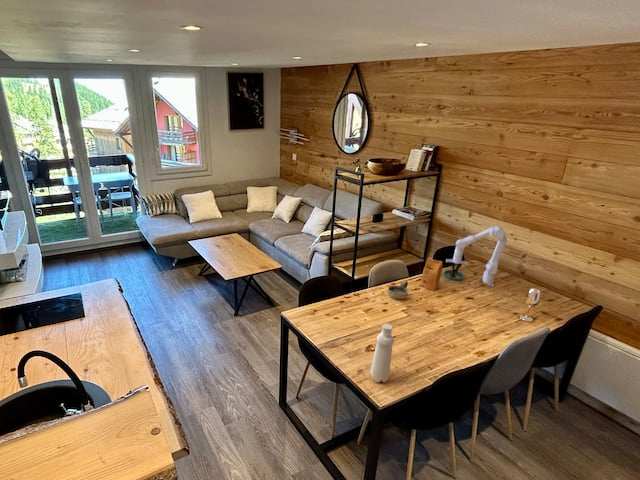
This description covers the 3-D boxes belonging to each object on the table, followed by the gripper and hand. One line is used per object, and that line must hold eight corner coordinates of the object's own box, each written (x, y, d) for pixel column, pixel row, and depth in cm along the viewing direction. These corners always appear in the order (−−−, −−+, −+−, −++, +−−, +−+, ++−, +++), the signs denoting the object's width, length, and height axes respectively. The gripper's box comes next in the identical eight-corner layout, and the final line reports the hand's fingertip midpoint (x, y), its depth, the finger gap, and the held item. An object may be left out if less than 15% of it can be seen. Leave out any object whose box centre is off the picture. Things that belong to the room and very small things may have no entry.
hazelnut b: (447, 275, 300) (446, 273, 300) (450, 275, 299) (449, 272, 299) (447, 276, 298) (446, 274, 298) (450, 275, 298) (449, 273, 298)
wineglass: (532, 317, 248) (541, 289, 240) (533, 323, 242) (543, 294, 234) (518, 314, 251) (526, 286, 243) (519, 319, 244) (528, 291, 237)
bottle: (385, 371, 196) (394, 321, 184) (390, 384, 188) (400, 332, 176) (367, 371, 196) (375, 321, 184) (372, 384, 187) (380, 332, 175)
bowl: (382, 296, 268) (384, 283, 264) (396, 288, 278) (398, 276, 275) (400, 304, 258) (402, 291, 254) (414, 296, 269) (416, 283, 265)
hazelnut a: (456, 279, 293) (456, 277, 294) (457, 279, 294) (457, 277, 295) (458, 279, 292) (458, 277, 292) (459, 279, 293) (459, 277, 293)
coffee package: (425, 281, 290) (430, 254, 282) (440, 287, 282) (446, 260, 273) (417, 285, 285) (422, 257, 276) (432, 291, 276) (438, 263, 267)
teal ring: (442, 273, 304) (443, 268, 303) (461, 276, 301) (462, 271, 299) (443, 281, 292) (444, 276, 290) (464, 284, 288) (465, 279, 286)
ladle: (451, 274, 300) (453, 266, 296) (456, 276, 297) (458, 268, 294) (448, 276, 297) (450, 269, 293) (454, 279, 295) (456, 271, 291)
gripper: (448, 256, 287) (444, 272, 292) (469, 258, 283) (465, 275, 288) (447, 252, 293) (443, 268, 298) (468, 255, 289) (464, 271, 295)
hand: (454, 272), depth 294 cm, fingers closed
